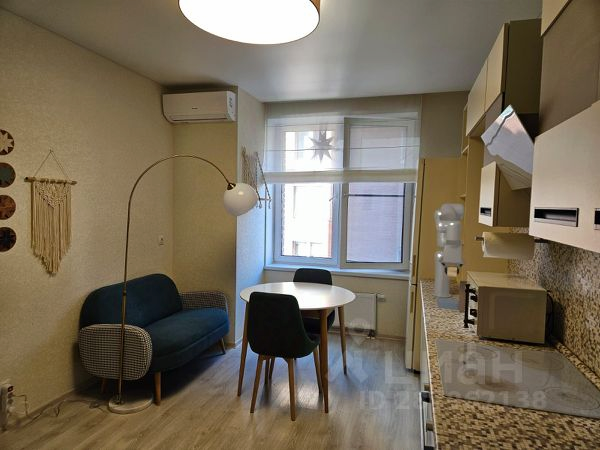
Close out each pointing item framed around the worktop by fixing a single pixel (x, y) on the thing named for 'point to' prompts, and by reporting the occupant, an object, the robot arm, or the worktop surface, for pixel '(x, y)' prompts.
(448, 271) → the oak cube
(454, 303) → the slate base block
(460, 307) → the wooden block
